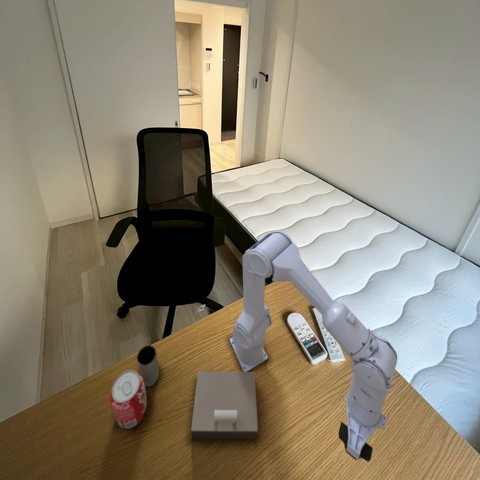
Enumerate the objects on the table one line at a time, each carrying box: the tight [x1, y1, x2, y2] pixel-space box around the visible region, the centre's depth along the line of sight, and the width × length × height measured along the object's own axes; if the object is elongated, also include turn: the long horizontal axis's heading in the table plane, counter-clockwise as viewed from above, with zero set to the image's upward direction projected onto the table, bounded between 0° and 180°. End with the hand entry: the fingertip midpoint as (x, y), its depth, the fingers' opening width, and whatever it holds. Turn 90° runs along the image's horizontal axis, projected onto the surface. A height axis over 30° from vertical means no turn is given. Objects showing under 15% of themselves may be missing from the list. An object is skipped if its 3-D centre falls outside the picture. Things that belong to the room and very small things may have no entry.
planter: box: [136, 344, 160, 388], centre depth 63 cm, size 4×4×10 cm
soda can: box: [109, 369, 148, 430], centre depth 56 cm, size 7×7×12 cm
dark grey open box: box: [191, 432, 258, 440], centre depth 59 cm, size 10×15×5 cm
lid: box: [190, 370, 259, 433], centre depth 57 cm, size 11×15×4 cm
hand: (356, 432), depth 51 cm, fingers open, 7 cm apart
